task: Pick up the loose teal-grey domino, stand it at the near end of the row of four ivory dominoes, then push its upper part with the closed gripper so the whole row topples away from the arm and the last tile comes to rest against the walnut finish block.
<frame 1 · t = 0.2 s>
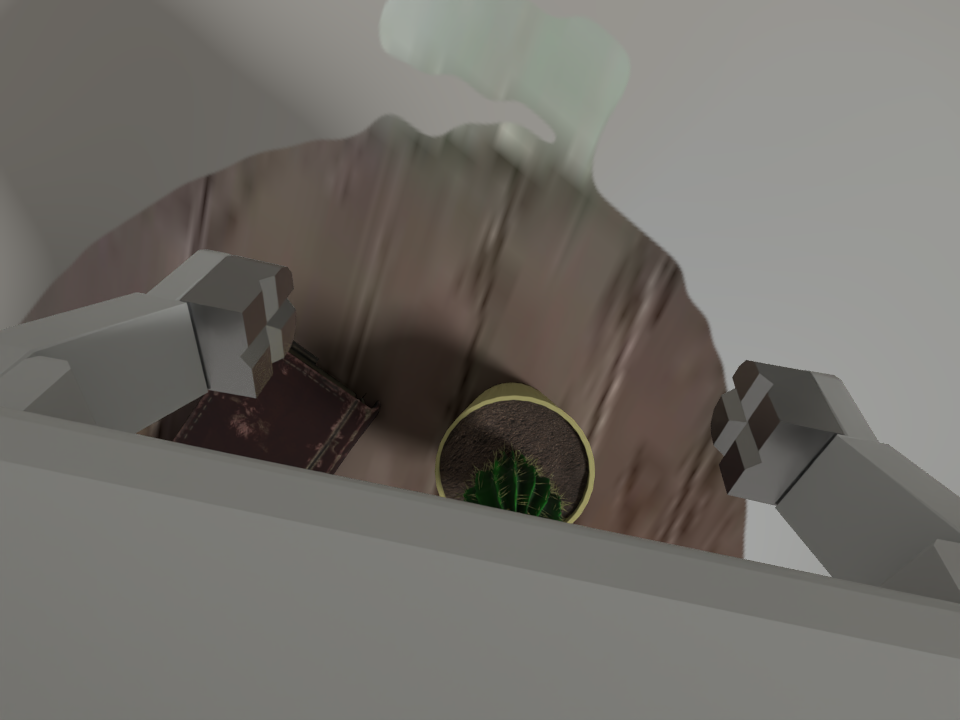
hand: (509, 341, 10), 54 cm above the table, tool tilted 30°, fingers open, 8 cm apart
potted cactus: (512, 426, 66), on the table
diary: (271, 436, 69), on the table
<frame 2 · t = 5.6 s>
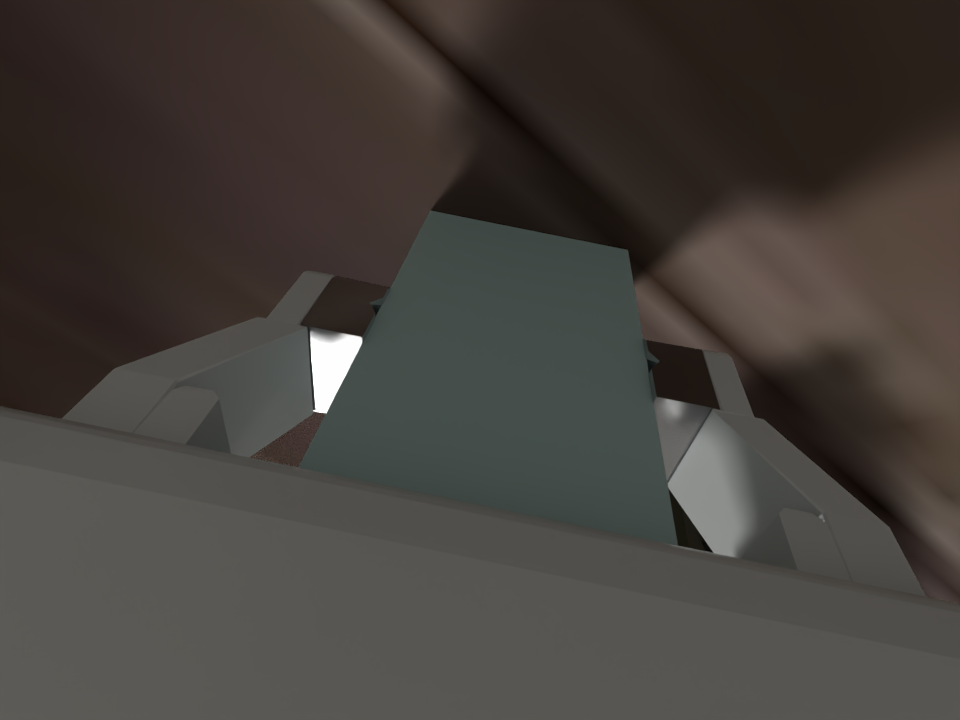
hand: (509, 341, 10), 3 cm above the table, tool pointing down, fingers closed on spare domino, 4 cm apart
diary: (595, 645, 25), on the table
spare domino: (522, 258, 12), on the table, touching gripper
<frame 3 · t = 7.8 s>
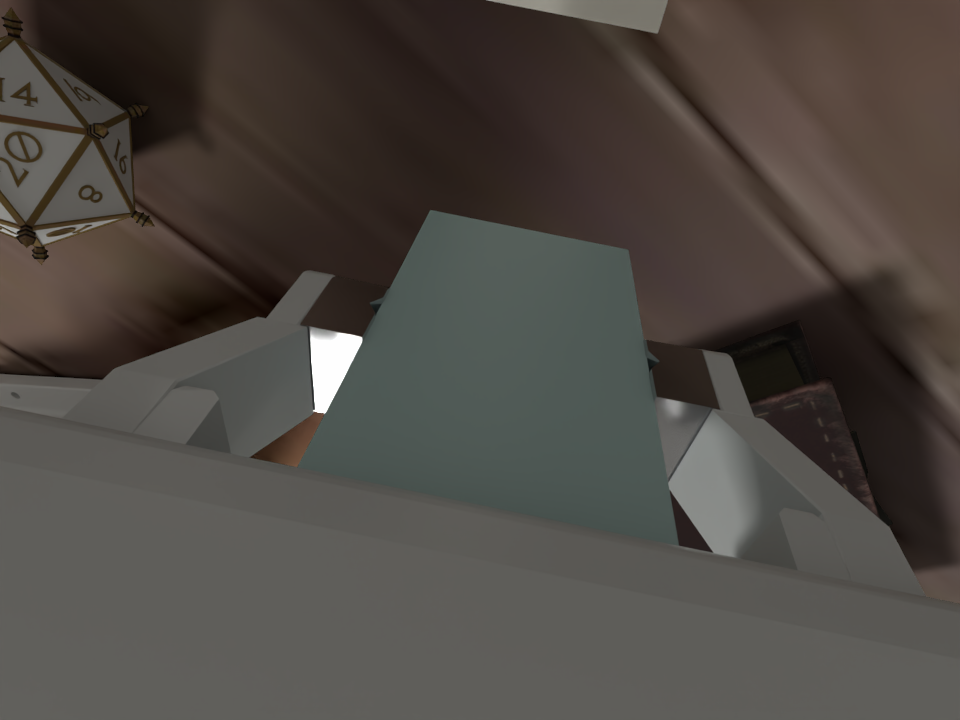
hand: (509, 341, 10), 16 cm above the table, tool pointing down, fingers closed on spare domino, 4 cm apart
game die: (98, 121, 25), on the table
diary: (708, 500, 36), on the table
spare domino: (522, 258, 12), point 12 cm above the table, touching gripper
when the fingers open (4 cm above the table, at t = 10.2 s): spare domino stays where it is, on the table.
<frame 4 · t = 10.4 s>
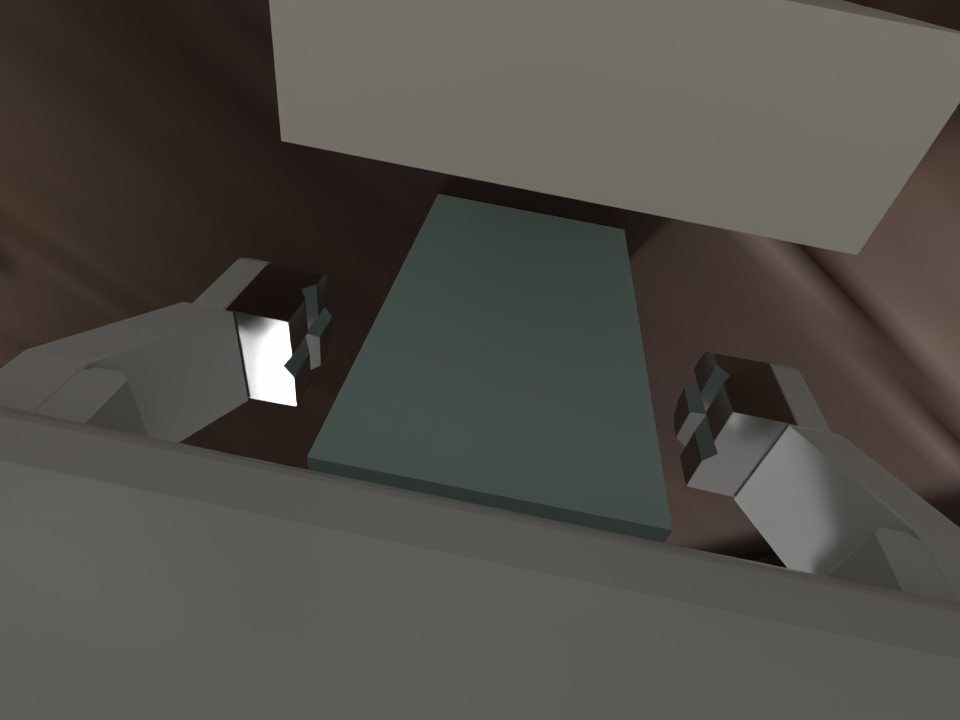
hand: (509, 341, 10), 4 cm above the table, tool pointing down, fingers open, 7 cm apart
diary: (756, 686, 27), on the table
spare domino: (525, 238, 13), on the table
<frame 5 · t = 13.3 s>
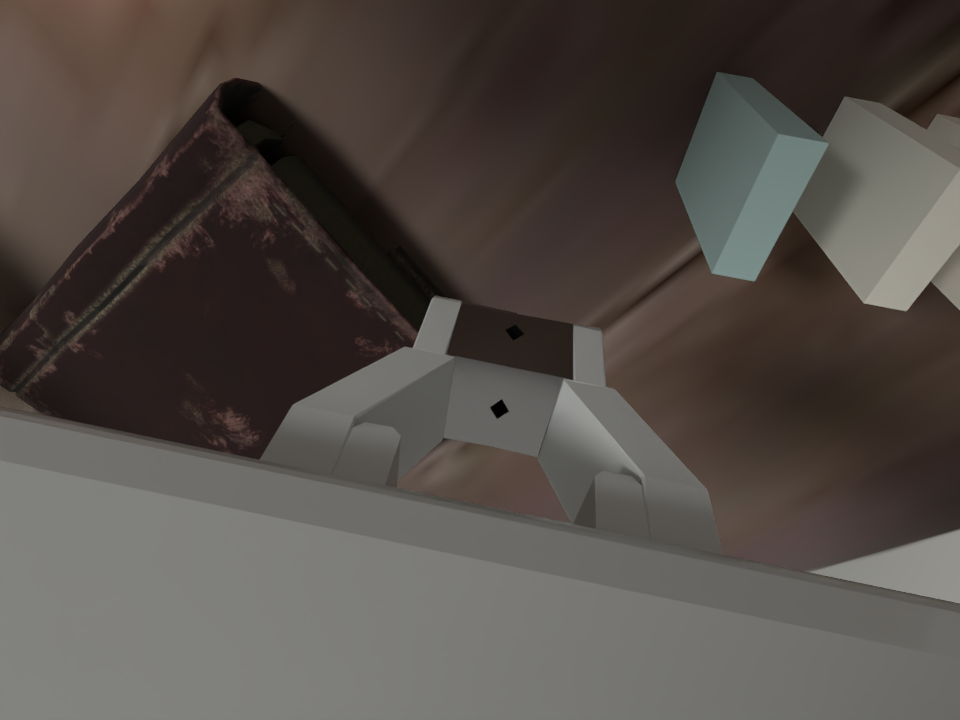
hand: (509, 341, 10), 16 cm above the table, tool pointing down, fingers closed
domino 2: (917, 173, 22), on the table
domino 1: (830, 156, 22), on the table
diary: (253, 335, 33), on the table
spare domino: (711, 133, 22), on the table
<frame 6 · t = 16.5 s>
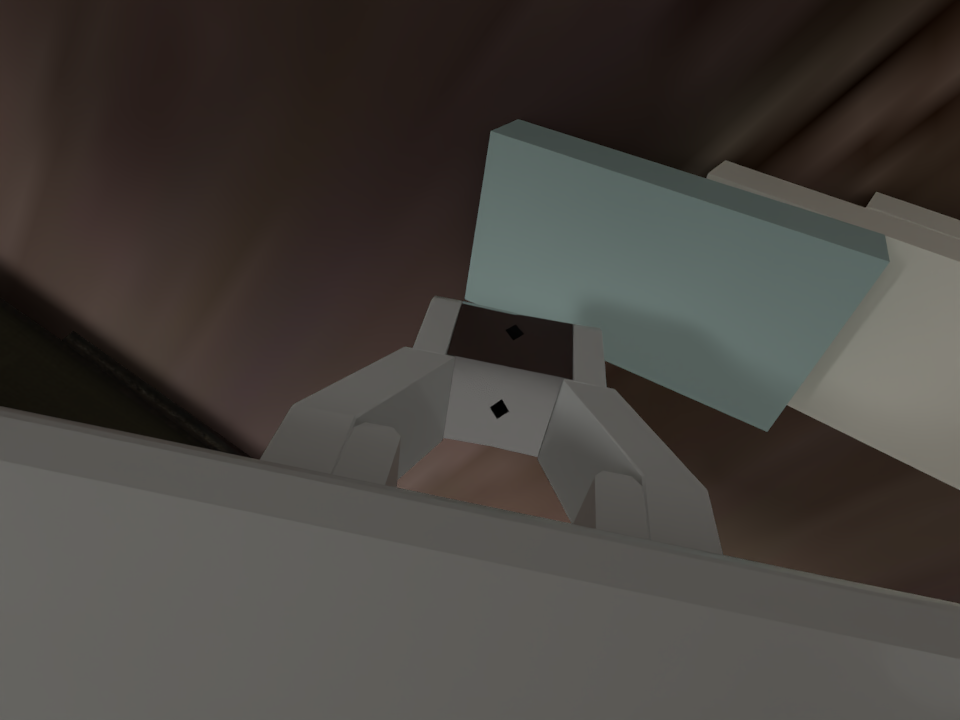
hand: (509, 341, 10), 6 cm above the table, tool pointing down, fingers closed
domino 2: (818, 281, 14), point 1 cm above the table, tilted 58°, touching domino 1, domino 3
domino 1: (679, 252, 14), point 1 cm above the table, tilted 62°, touching domino 2, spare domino
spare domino: (489, 214, 14), point 1 cm above the table, tilted 69°, touching domino 1
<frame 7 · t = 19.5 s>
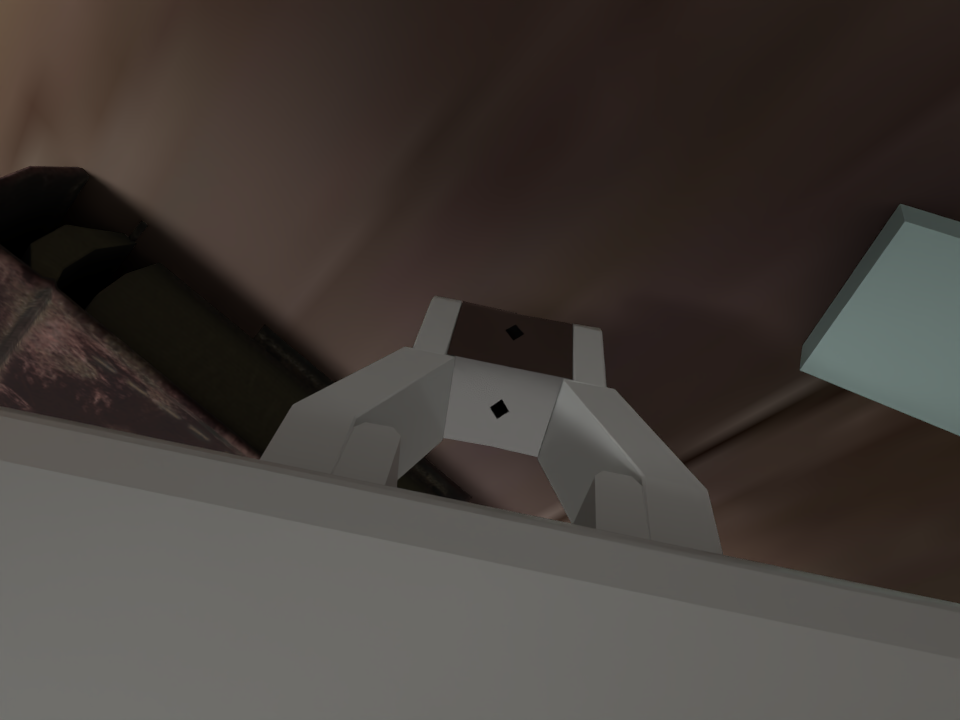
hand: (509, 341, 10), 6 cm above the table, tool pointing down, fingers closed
diary: (160, 471, 25), on the table
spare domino: (846, 292, 14), point 1 cm above the table, tilted 69°, touching domino 1
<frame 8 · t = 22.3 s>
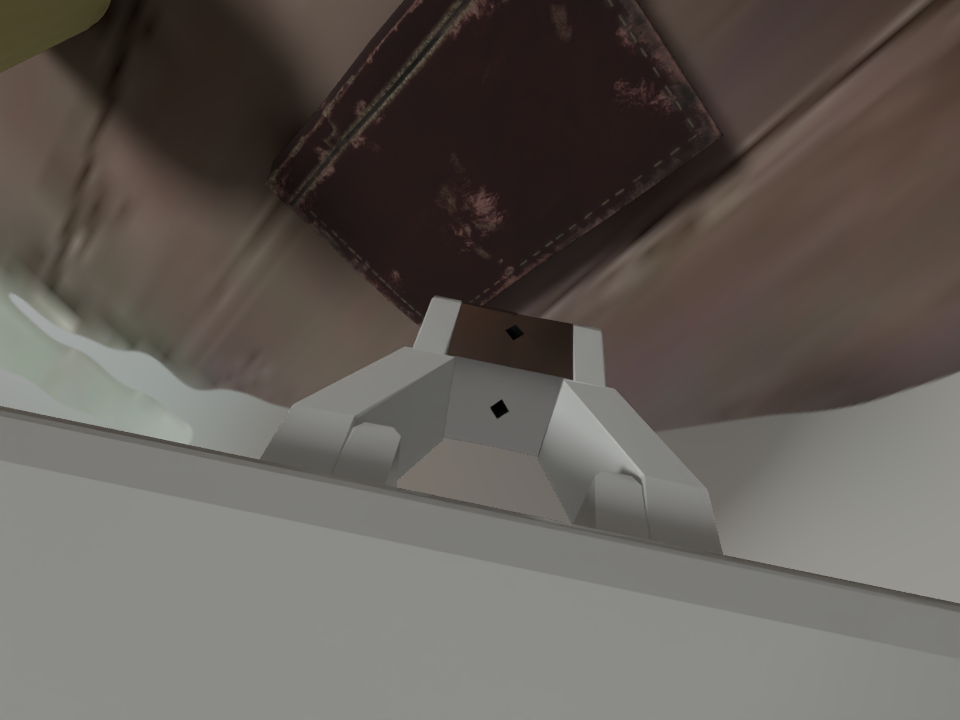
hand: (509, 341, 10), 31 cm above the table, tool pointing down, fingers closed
diary: (483, 141, 39), on the table
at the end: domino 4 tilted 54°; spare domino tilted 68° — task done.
